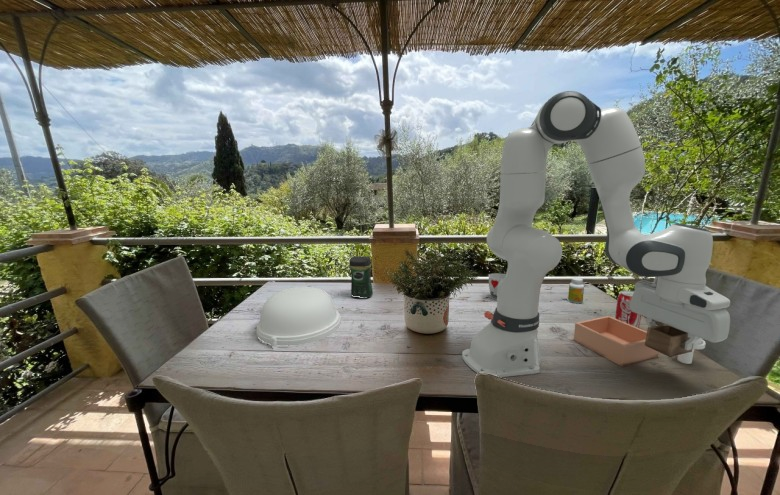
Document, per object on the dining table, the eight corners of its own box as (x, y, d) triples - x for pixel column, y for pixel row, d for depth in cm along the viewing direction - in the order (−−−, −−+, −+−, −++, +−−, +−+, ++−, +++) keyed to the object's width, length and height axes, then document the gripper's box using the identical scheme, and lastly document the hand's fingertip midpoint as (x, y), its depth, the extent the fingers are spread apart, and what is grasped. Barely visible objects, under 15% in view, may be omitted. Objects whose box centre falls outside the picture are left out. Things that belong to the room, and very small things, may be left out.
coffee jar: (374, 293, 153) (372, 254, 150) (369, 299, 146) (367, 259, 142) (354, 292, 156) (352, 254, 152) (349, 298, 148) (346, 258, 144)
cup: (484, 296, 146) (484, 274, 143) (500, 293, 148) (500, 272, 146) (495, 302, 138) (496, 280, 136) (511, 300, 140) (512, 277, 138)
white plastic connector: (664, 352, 97) (671, 304, 94) (694, 356, 94) (703, 307, 91) (674, 365, 91) (682, 314, 87) (706, 370, 88) (716, 317, 85)
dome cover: (313, 355, 102) (309, 313, 99) (235, 343, 111) (229, 304, 108) (355, 314, 132) (353, 280, 129) (291, 307, 141) (287, 275, 138)
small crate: (669, 357, 81) (673, 338, 79) (644, 345, 86) (647, 327, 85) (691, 351, 83) (695, 333, 82) (665, 340, 89) (669, 323, 88)
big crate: (622, 366, 91) (624, 346, 89) (573, 340, 106) (575, 322, 104) (657, 356, 95) (660, 337, 94) (606, 332, 110) (608, 315, 109)
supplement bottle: (565, 301, 137) (567, 278, 135) (570, 297, 141) (572, 275, 139) (579, 304, 133) (582, 281, 131) (584, 300, 137) (586, 278, 135)
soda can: (643, 331, 110) (648, 297, 107) (619, 330, 111) (624, 296, 109) (633, 322, 117) (637, 290, 114) (610, 321, 118) (614, 289, 116)
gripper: (628, 279, 90) (620, 326, 93) (721, 306, 71) (708, 364, 74) (644, 277, 92) (636, 323, 95) (740, 303, 73) (726, 360, 76)
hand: (669, 341), depth 84 cm, fingers closed on small crate, 6 cm apart
